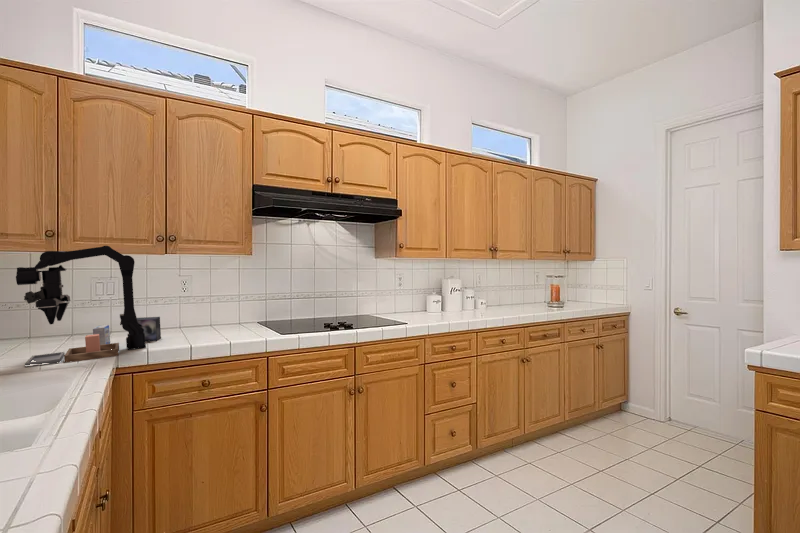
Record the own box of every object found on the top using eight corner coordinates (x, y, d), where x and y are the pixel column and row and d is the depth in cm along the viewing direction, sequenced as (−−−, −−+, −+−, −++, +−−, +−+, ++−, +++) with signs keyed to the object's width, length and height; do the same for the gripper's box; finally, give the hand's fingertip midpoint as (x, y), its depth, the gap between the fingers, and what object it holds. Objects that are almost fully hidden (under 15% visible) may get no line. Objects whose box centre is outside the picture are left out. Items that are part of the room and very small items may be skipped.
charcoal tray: (64, 355, 174) (64, 351, 174) (59, 362, 162) (59, 358, 162) (32, 359, 169) (32, 355, 169) (25, 367, 157) (24, 363, 157)
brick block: (100, 353, 176) (99, 333, 176) (99, 355, 173) (98, 335, 172) (87, 354, 174) (86, 335, 174) (86, 357, 170) (85, 337, 170)
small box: (131, 342, 195) (129, 319, 195) (137, 339, 202) (135, 317, 201) (156, 341, 197) (155, 318, 197) (161, 338, 204) (160, 316, 203)
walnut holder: (119, 348, 184) (118, 342, 184) (118, 355, 171) (117, 349, 171) (69, 354, 175) (69, 348, 175) (64, 362, 162) (64, 355, 162)
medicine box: (105, 347, 188) (104, 327, 187) (93, 348, 186) (92, 328, 186) (110, 343, 195) (109, 324, 194) (98, 344, 193) (97, 325, 193)
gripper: (35, 282, 174) (38, 321, 175) (16, 286, 157) (20, 328, 158) (69, 281, 178) (72, 318, 179) (54, 284, 161) (57, 325, 162)
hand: (55, 322), depth 169 cm, fingers open, 9 cm apart
